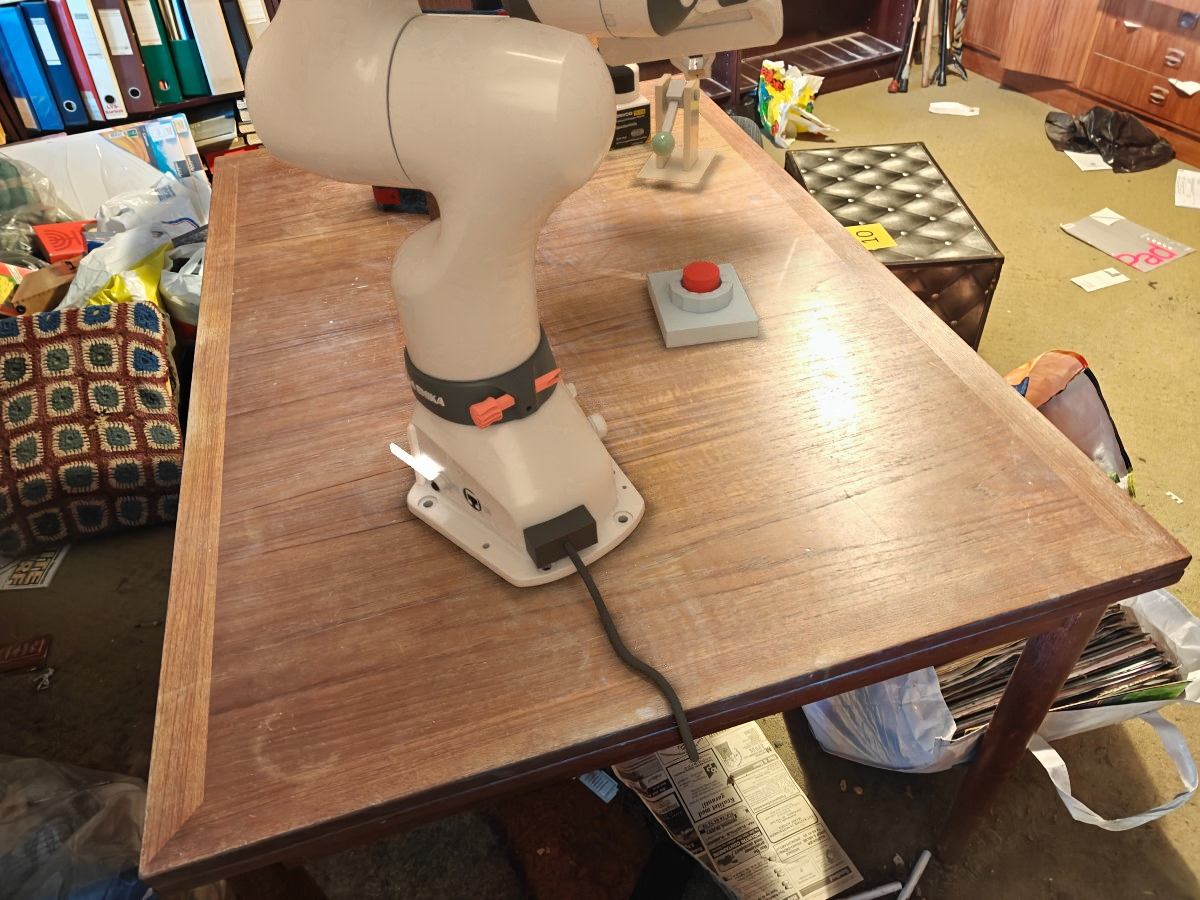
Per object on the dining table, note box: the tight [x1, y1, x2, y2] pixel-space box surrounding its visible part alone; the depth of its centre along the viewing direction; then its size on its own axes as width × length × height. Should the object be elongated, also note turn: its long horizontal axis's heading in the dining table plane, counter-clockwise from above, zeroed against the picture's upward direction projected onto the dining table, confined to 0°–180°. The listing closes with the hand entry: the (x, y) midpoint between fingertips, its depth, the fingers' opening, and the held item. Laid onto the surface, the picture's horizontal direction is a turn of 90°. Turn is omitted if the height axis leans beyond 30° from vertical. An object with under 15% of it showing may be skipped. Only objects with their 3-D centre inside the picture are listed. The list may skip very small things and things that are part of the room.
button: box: [682, 260, 720, 293], centre depth 94 cm, size 4×4×2 cm
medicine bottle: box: [605, 63, 652, 152], centre depth 127 cm, size 7×7×12 cm
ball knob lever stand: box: [635, 73, 718, 185], centre depth 119 cm, size 11×9×13 cm
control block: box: [646, 262, 760, 349], centre depth 95 cm, size 12×10×4 cm
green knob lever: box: [650, 78, 688, 157], centre depth 115 cm, size 11×3×3 cm
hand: (698, 75), depth 100 cm, fingers closed
